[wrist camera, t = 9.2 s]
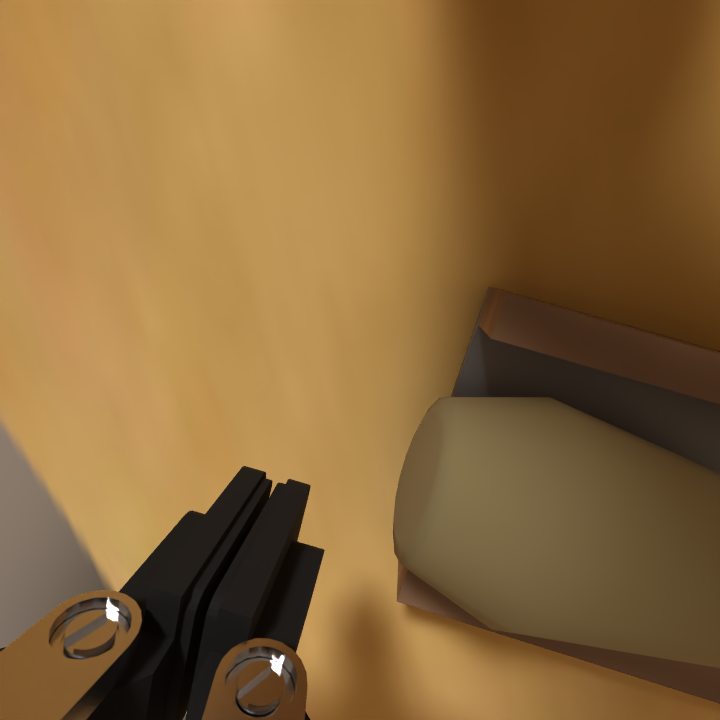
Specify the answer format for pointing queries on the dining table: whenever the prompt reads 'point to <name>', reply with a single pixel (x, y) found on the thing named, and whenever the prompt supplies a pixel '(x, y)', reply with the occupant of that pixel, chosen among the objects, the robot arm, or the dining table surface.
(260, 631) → the robot arm
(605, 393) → the brown wooden tray
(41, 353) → the dining table surface
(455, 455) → the squeeze bottle
